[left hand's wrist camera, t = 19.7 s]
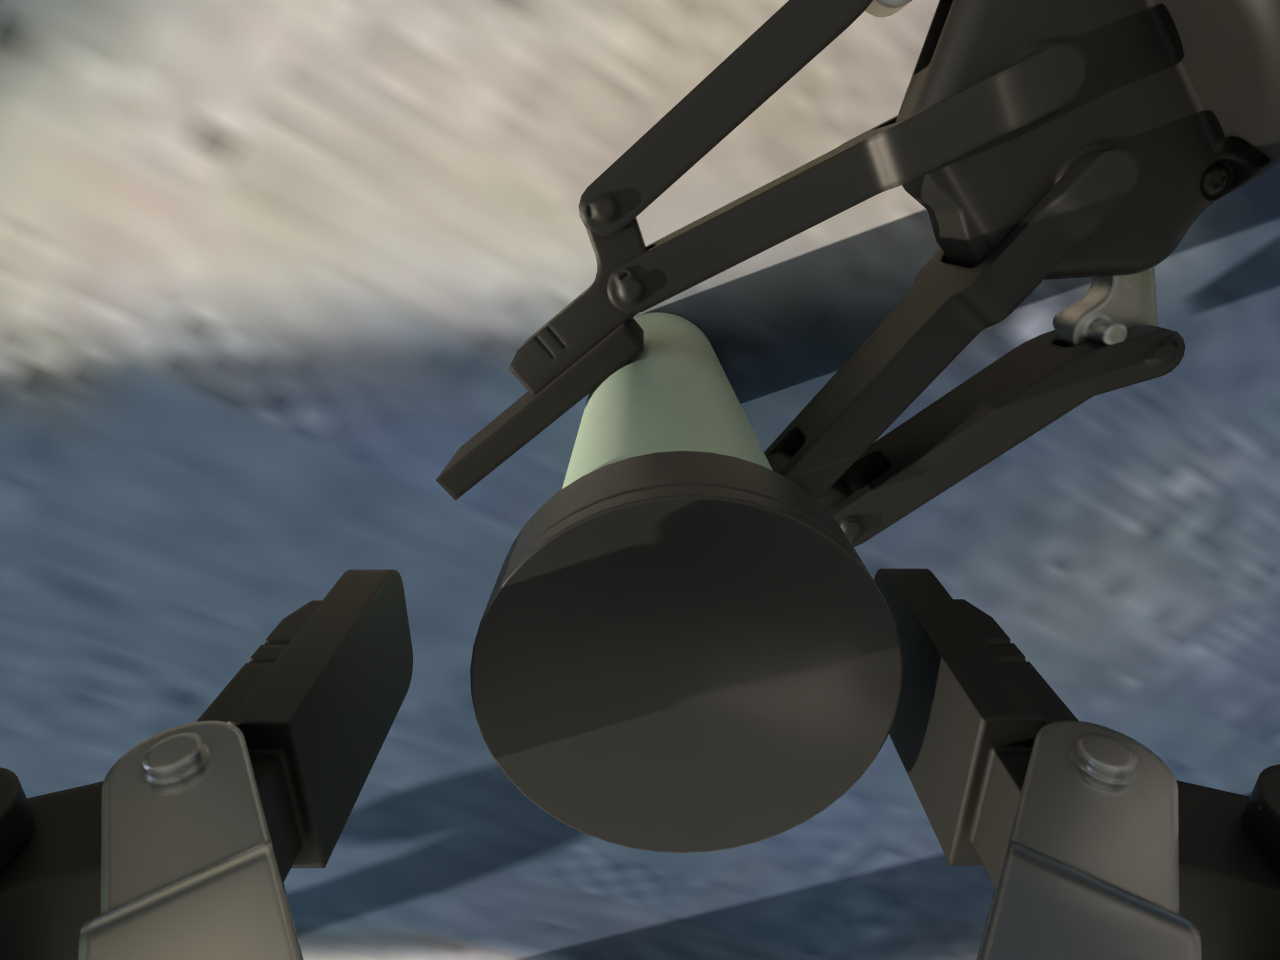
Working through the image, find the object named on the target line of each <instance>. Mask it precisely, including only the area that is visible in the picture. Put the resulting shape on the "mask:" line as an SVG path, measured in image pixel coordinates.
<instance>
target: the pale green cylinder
mask: <svg viewBox="0 0 1280 960" xmlns="http://www.w3.org/2000/svg"><path fill="white" fill-rule="evenodd" d="M633 318H634V319H635V320H636V322H637V323H638V324H639V325H640V327H641V328H642V329H643V330H644V349H643V350H642V351H641V352H640V353H638V354H637V355H636V356H635V357H633V358H632V359H631V360H630V361H628V362H627V363H626V364H625V365H623V366H622V367H621V368H620V369H619V370H617V371H616V372H615V373H614V374H612V375H611V376H609V377H608V378H607V379H606V380H605V381H604V382H602V383H601V384H600V385H599V386H597V387H596V388H595V389H594V390H592V391H591V392H590V393H589V396H588V400H587V403H586V407H585V410H584V414H583V417H582V421H581V424H580V428H579V431H578V435H577V438H576V442H575V445H574V449H573V453H572V456H571V460H570V463H569V467H568V470H567V474H566V477H565V481H564V484H563V488H565V487H566V486H568V485H569V484H571V483H573V482H574V481H576V480H577V479H579V478H580V477H582V476H584V475H586V474H588V473H590V472H593V471H595V470H597V469H599V468H601V467H603V466H606V465H609V464H612V463H615V462H618V461H621V460H624V459H627V458H630V457H635V456H641V455H646V454H651V453H656V452H671V451H696V452H711V453H716V454H722V455H727V456H733V457H737V458H740V459H743V460H746V461H750V462H753V463H756V464H759V465H762V466H764V467H766V468H768V469H770V470H772V468H771V466H770V464H769V462H768V460H767V458H766V456H765V454H764V452H763V450H762V448H761V446H760V443H759V441H758V439H757V437H756V435H755V433H754V431H753V429H752V427H751V425H750V423H749V421H748V419H747V417H746V415H745V413H744V411H743V409H742V407H741V405H740V403H739V401H738V399H737V397H736V395H735V393H734V391H733V389H732V387H731V384H730V382H729V380H728V378H727V376H726V374H725V372H724V370H723V368H722V366H721V364H720V362H719V360H718V358H717V356H716V354H715V352H714V350H713V348H712V346H711V344H710V342H709V340H708V339H707V337H706V336H705V335H704V333H703V332H702V331H701V330H700V329H699V328H698V327H697V326H695V325H694V324H693V323H691V322H690V321H688V320H686V319H684V318H682V317H680V316H677V315H674V314H669V313H661V312H654V313H646V314H642V315H639V316H636V317H633ZM772 471H773V470H772ZM563 488H562V489H563Z"/></svg>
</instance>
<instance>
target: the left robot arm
mask: <svg viewBox="0 0 1280 960" xmlns="http://www.w3.org/2000/svg"><path fill="white" fill-rule="evenodd" d="M874 581H875V583H876V585H877V586H878V588H879V589H880V591H881V593H882V594H883V596H884V598H885V599H886V602H887V604H888V606H889V609H890V611H891V613H892V616H893V618H894V620H895V623H896V627H897V631H898V635H899V639H900V643H901V652H902V664H903V674H902V687H901V696H900V700H899V704H898V708H897V712H896V717H895V719H894V722H893V724H892V727H891V729H890V731H889V735H890V737H891V739H892V741H893V743H894V746H895V748H896V750H897V752H898V754H899V756H900V758H901V761H902V763H903V765H904V767H905V769H906V771H907V774H908V776H909V778H910V780H911V782H912V784H913V787H914V789H915V791H916V793H917V795H918V797H919V799H920V802H921V804H922V806H923V808H924V810H925V812H926V815H927V817H928V819H929V821H930V823H931V825H932V828H933V830H934V832H935V834H936V836H937V838H938V840H939V843H940V845H941V847H942V849H943V851H944V853H945V856H946V858H947V860H948V862H949V864H950V866H984V868H985V870H986V871H987V873H988V875H989V877H990V879H991V881H992V883H993V885H994V887H995V891H994V895H993V898H992V902H991V906H990V910H989V914H988V918H987V921H986V925H985V929H984V933H983V937H982V941H981V945H980V948H979V952H978V956H977V960H1280V765H1275V766H1270V767H1268V768H1266V769H1264V770H1263V771H1262V772H1261V773H1260V775H1259V777H1258V780H1257V782H1256V784H1255V787H1254V789H1253V791H1252V794H1251V796H1250V797H1248V796H1244V795H1239V794H1235V793H1231V792H1226V791H1222V790H1217V789H1213V788H1208V787H1204V786H1199V785H1195V784H1190V783H1186V782H1181V781H1177V780H1176V779H1175V777H1174V775H1173V773H1172V772H1171V770H1170V769H1169V768H1168V766H1167V765H1166V764H1165V763H1164V762H1163V761H1162V760H1161V759H1160V758H1159V757H1158V756H1157V755H1156V754H1154V753H1153V752H1152V751H1151V750H1149V749H1148V748H1146V747H1145V746H1144V745H1142V744H1141V743H1139V742H1137V741H1135V740H1134V739H1132V738H1130V737H1128V736H1126V735H1124V734H1122V733H1120V732H1117V731H1115V730H1112V729H1110V728H1107V727H1104V726H1100V725H1097V724H1092V723H1088V722H1081V721H1078V720H1077V718H1076V717H1075V716H1074V715H1073V714H1072V712H1071V711H1070V710H1069V709H1068V708H1067V706H1066V705H1065V704H1064V703H1063V702H1062V700H1061V699H1060V698H1059V697H1058V696H1057V694H1056V693H1055V692H1054V691H1053V690H1052V688H1051V687H1050V686H1049V685H1048V684H1047V682H1046V681H1045V680H1044V679H1043V678H1042V676H1041V675H1040V674H1039V673H1038V672H1037V671H1036V669H1035V668H1034V667H1033V666H1032V665H1031V663H1030V662H1026V661H1025V656H1024V655H1023V654H1022V653H1021V651H1020V650H1019V649H1018V648H1017V647H1016V645H1015V644H1014V643H1010V638H1009V637H1008V636H1007V635H1006V633H1005V632H1004V631H1003V630H1002V629H1001V627H1000V626H999V625H998V624H997V623H996V621H995V620H994V619H993V618H992V617H990V616H989V615H987V614H986V613H984V612H983V611H981V610H980V609H978V608H976V607H975V606H973V605H972V604H970V603H969V602H967V601H966V600H964V599H952V598H951V596H950V595H949V594H948V592H947V591H946V590H945V588H944V587H943V586H942V585H941V583H940V582H939V581H938V579H937V578H936V577H935V576H934V574H933V573H932V572H931V571H930V570H928V569H879V570H878V572H877V573H876V575H875V578H874ZM412 669H413V651H412V643H411V637H410V630H409V623H408V616H407V609H406V602H405V595H404V588H403V582H402V579H401V576H400V574H399V572H398V571H397V570H348V571H346V572H345V573H344V574H343V575H342V577H341V578H340V579H339V580H338V582H337V583H336V584H335V585H334V587H333V588H332V589H331V591H330V592H329V593H328V594H327V596H326V597H325V598H324V599H323V601H311V602H309V603H307V604H306V605H304V606H303V607H301V608H300V609H298V610H296V611H295V612H293V613H292V614H290V615H289V616H287V617H286V618H284V619H283V620H282V621H281V622H280V623H279V625H278V626H277V627H276V628H275V629H274V630H273V632H272V633H271V634H270V635H269V636H268V638H267V639H266V640H265V645H261V646H260V647H259V648H258V649H257V651H256V652H255V653H254V654H253V655H252V657H251V658H250V662H249V663H246V664H245V665H244V666H243V667H242V668H241V670H240V671H239V672H238V673H237V674H236V675H235V677H234V678H233V679H232V680H231V681H230V683H229V684H228V685H227V686H226V687H225V688H224V690H223V691H222V692H221V693H220V694H219V696H218V697H217V698H216V699H215V700H214V702H213V703H212V704H211V705H210V706H209V707H208V709H207V710H206V711H205V712H204V713H203V715H202V716H201V717H200V718H199V719H198V720H197V722H192V723H188V724H183V725H180V726H176V727H173V728H170V729H168V730H165V731H163V732H160V733H158V734H156V735H154V736H152V737H150V738H148V739H146V740H145V741H143V742H141V743H139V744H138V745H136V746H135V747H134V748H132V749H131V750H129V751H128V752H127V753H126V754H124V755H123V756H122V757H121V758H120V759H119V760H118V761H117V762H116V763H115V764H114V765H113V766H112V768H111V769H110V770H109V772H108V773H107V775H106V777H105V779H104V781H102V782H98V783H94V784H90V785H85V786H81V787H76V788H72V789H67V790H63V791H58V792H54V793H49V794H45V795H40V796H36V797H31V798H26V796H25V793H24V791H23V789H22V786H21V784H20V782H19V779H18V777H17V776H16V775H15V774H14V773H13V772H12V771H10V770H8V769H5V768H0V960H303V956H302V952H301V948H300V945H299V941H298V937H297V933H296V929H295V925H294V921H293V918H292V914H291V910H290V906H289V902H288V898H287V895H286V891H285V887H284V883H283V882H284V880H285V878H286V877H287V875H288V873H289V871H290V869H291V868H325V866H326V864H327V862H328V860H329V858H330V856H331V853H332V851H333V849H334V847H335V845H336V843H337V841H338V838H339V836H340V834H341V832H342V830H343V828H344V826H345V824H346V821H347V819H348V817H349V815H350V813H351V811H352V809H353V807H354V804H355V802H356V800H357V798H358V796H359V794H360V792H361V789H362V787H363V785H364V783H365V781H366V779H367V777H368V775H369V772H370V770H371V768H372V766H373V764H374V762H375V760H376V758H377V755H378V753H379V751H380V749H381V747H382V745H383V743H384V741H385V738H386V736H387V734H388V732H389V730H390V728H391V726H392V723H393V721H394V719H395V717H396V715H397V713H398V711H399V709H400V706H401V704H402V702H403V700H404V698H405V696H406V694H407V691H408V689H409V686H410V682H411V677H412Z"/></svg>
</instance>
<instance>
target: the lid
mask: <svg viewBox="0 0 1280 960" xmlns="http://www.w3.org/2000/svg"><path fill="white" fill-rule="evenodd" d="M470 673H471V695H472V700H473V705H474V711H475V716H476V719H477V722H478V725H479V727H480V730H481V733H482V736H483V739H484V741H485V742H486V744H487V746H488V748H489V750H490V752H491V754H492V756H493V757H494V759H495V761H496V762H497V763H498V765H499V766H500V768H501V769H502V770H503V772H504V773H505V774H506V776H507V777H508V778H509V779H510V781H511V782H512V783H513V784H514V785H515V786H516V787H517V788H518V789H519V790H520V791H521V792H522V793H523V794H524V795H525V796H526V797H527V798H529V799H530V800H531V801H532V802H534V803H535V804H536V805H537V806H538V807H540V808H541V809H542V810H543V811H545V812H547V813H548V814H550V815H551V816H553V817H555V818H556V819H558V820H559V821H561V822H562V823H564V824H566V825H568V826H570V827H572V828H574V829H577V830H579V831H581V832H583V833H585V834H587V835H590V836H593V837H596V838H598V839H601V840H604V841H607V842H610V843H614V844H618V845H622V846H626V847H630V848H636V849H642V850H649V851H656V852H675V853H689V852H708V851H715V850H722V849H729V848H734V847H738V846H742V845H746V844H750V843H754V842H758V841H761V840H764V839H766V838H769V837H772V836H775V835H778V834H780V833H783V832H785V831H787V830H789V829H791V828H793V827H795V826H797V825H799V824H801V823H803V822H805V821H807V820H808V819H810V818H811V817H813V816H815V815H816V814H818V813H820V812H821V811H823V810H824V809H826V808H827V807H828V806H829V805H831V804H832V803H833V802H835V801H836V800H837V799H838V798H840V797H841V796H842V795H843V794H844V793H845V792H846V791H847V790H848V789H849V788H850V787H851V786H852V785H853V784H854V783H855V782H856V781H857V780H858V779H859V778H860V777H861V776H862V775H863V773H864V772H865V771H866V770H867V768H868V767H869V766H870V764H871V763H872V762H873V761H874V759H875V758H876V756H877V754H878V753H879V751H880V749H881V747H882V746H883V744H884V742H885V740H886V739H887V736H888V734H889V731H890V729H891V727H892V724H893V722H894V719H895V717H896V712H897V708H898V704H899V700H900V696H901V687H902V674H903V664H902V652H901V643H900V639H899V635H898V631H897V627H896V623H895V620H894V618H893V616H892V613H891V611H890V609H889V606H888V604H887V602H886V599H885V598H884V596H883V594H882V593H881V591H880V589H879V588H878V586H877V585H876V583H875V581H874V580H873V578H872V577H871V575H870V573H869V572H868V570H867V568H866V567H865V565H864V564H863V562H862V560H861V559H860V557H859V555H858V554H857V552H856V551H855V549H854V547H853V546H852V544H851V542H850V541H849V539H848V538H847V536H846V535H845V533H844V531H843V530H842V528H841V527H840V525H839V523H838V522H837V521H836V520H835V519H834V518H833V516H832V515H831V514H830V513H829V512H828V511H827V509H826V508H825V507H824V506H823V505H822V504H821V503H820V502H818V501H817V500H816V499H815V498H814V497H813V496H812V495H810V494H809V493H808V492H807V491H806V490H805V489H803V488H802V487H800V486H798V485H797V484H795V483H794V482H792V481H791V480H789V479H788V478H786V477H785V476H783V475H781V474H779V473H776V472H774V471H772V470H770V469H768V468H766V467H764V466H762V465H759V464H756V463H753V462H750V461H746V460H743V459H740V458H737V457H733V456H727V455H722V454H716V453H711V452H696V451H671V452H656V453H651V454H646V455H641V456H635V457H630V458H627V459H624V460H621V461H618V462H615V463H612V464H609V465H606V466H603V467H601V468H599V469H597V470H595V471H593V472H590V473H588V474H586V475H584V476H582V477H580V478H579V479H577V480H576V481H574V482H573V483H571V484H569V485H568V486H566V487H565V488H563V489H562V490H560V491H559V492H558V493H557V494H555V495H554V496H553V497H552V498H551V499H550V500H548V501H547V502H546V503H545V504H544V505H542V506H541V507H540V509H539V510H538V511H537V512H536V513H535V514H534V515H533V516H532V518H531V519H530V520H529V521H528V522H527V523H526V524H525V526H524V527H523V529H522V530H521V532H520V533H519V535H518V536H517V538H516V539H515V541H514V542H513V544H512V546H511V548H510V550H509V553H508V555H507V557H506V559H505V561H504V563H503V566H502V568H501V571H500V573H499V576H498V579H497V581H496V584H495V586H494V589H493V591H492V594H491V597H490V599H489V602H488V604H487V607H486V610H485V612H484V615H483V617H482V620H481V622H480V625H479V629H478V632H477V636H476V639H475V643H474V646H473V653H472V661H471V669H470Z"/></svg>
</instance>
